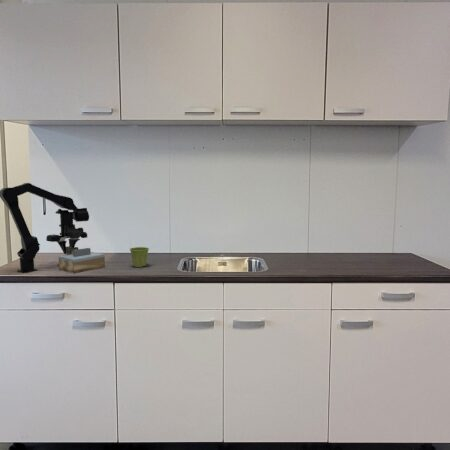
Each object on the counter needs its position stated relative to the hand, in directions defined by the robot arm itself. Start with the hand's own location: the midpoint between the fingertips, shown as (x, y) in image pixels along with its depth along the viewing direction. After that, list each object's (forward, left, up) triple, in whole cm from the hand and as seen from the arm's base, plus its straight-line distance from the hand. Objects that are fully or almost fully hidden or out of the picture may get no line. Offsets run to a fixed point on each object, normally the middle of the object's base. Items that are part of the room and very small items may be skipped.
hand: (68, 253), depth 183 cm
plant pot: (+30, +20, -6) cm, 37 cm away
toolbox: (+11, 0, -6) cm, 12 cm away
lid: (+12, 0, -2) cm, 12 cm away
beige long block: (+4, 0, +1) cm, 4 cm away
